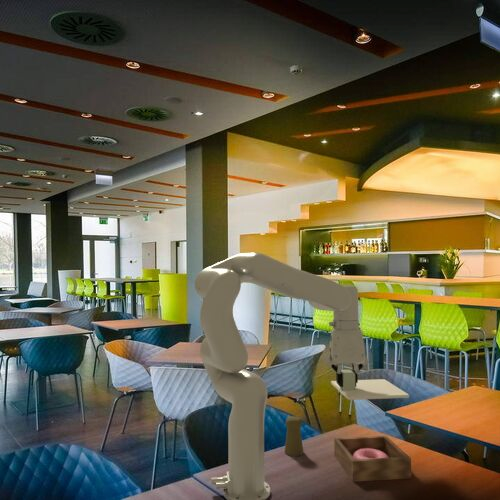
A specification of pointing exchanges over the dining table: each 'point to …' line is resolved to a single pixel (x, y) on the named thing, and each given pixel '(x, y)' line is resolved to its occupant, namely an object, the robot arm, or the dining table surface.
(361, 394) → the lid
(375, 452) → the doughnut
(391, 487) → the dining table surface
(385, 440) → the open wooden box
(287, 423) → the cork
